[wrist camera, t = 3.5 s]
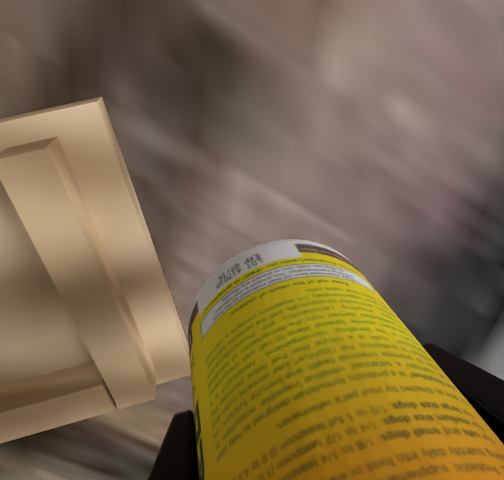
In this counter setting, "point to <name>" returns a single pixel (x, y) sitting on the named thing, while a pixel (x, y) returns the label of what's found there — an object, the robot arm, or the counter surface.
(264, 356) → the supplement bottle
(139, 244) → the stand
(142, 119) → the counter surface
